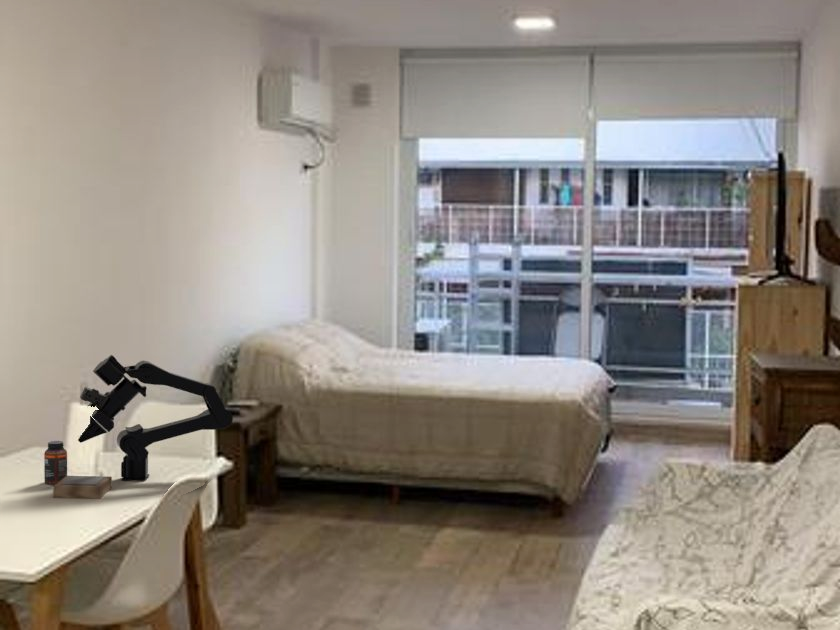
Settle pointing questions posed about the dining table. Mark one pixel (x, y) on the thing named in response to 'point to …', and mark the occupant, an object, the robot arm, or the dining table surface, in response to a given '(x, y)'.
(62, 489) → the walnut base
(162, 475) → the dining table surface
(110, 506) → the dining table surface
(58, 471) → the supplement bottle
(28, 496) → the dining table surface
